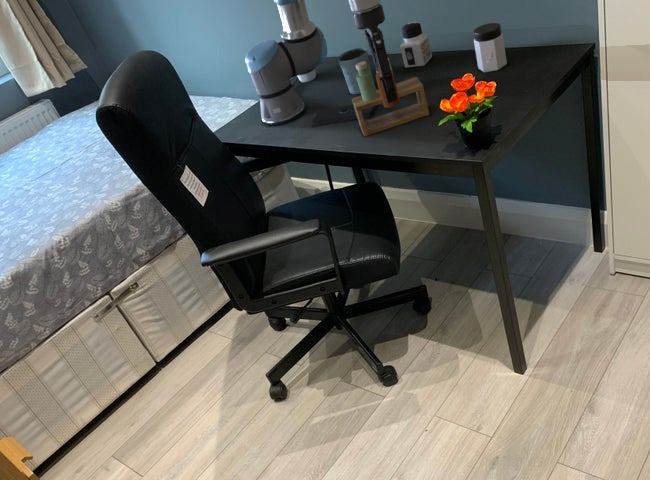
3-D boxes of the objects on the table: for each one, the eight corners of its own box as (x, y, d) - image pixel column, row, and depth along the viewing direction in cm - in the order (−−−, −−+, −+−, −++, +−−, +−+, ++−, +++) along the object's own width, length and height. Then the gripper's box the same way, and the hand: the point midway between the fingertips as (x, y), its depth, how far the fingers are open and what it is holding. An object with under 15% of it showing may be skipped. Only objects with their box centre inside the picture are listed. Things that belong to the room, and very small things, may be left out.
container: (424, 65, 215) (416, 27, 207) (404, 67, 219) (395, 30, 211) (432, 56, 220) (424, 18, 212) (412, 58, 223) (404, 21, 216)
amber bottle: (382, 103, 171) (370, 60, 164) (398, 98, 171) (387, 54, 164) (385, 109, 168) (373, 65, 160) (401, 103, 167) (390, 59, 160)
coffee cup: (296, 77, 243) (285, 46, 236) (323, 70, 241) (313, 38, 234) (292, 87, 235) (281, 56, 227) (320, 80, 232) (310, 48, 225)
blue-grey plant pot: (372, 79, 218) (363, 45, 211) (379, 88, 210) (370, 52, 203) (345, 89, 218) (335, 55, 211) (350, 98, 210) (340, 63, 203)
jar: (476, 74, 197) (470, 35, 190) (480, 63, 203) (474, 26, 195) (505, 69, 193) (500, 30, 186) (508, 59, 199) (503, 20, 192)
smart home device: (370, 111, 192) (311, 121, 199) (371, 117, 193) (312, 126, 200) (376, 100, 198) (318, 109, 205) (377, 105, 199) (320, 114, 206)
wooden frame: (359, 126, 190) (351, 98, 185) (422, 105, 190) (416, 76, 184) (364, 136, 184) (355, 107, 178) (429, 114, 183) (422, 85, 178)
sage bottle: (361, 97, 183) (352, 64, 177) (376, 92, 183) (366, 58, 177) (364, 102, 180) (354, 68, 174) (378, 97, 179) (369, 63, 173)
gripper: (388, 10, 147) (411, 104, 161) (374, -4, 161) (396, 83, 175) (358, 21, 147) (383, 113, 161) (347, 5, 162) (371, 92, 176)
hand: (390, 97), depth 168 cm, fingers closed on amber bottle, 5 cm apart
